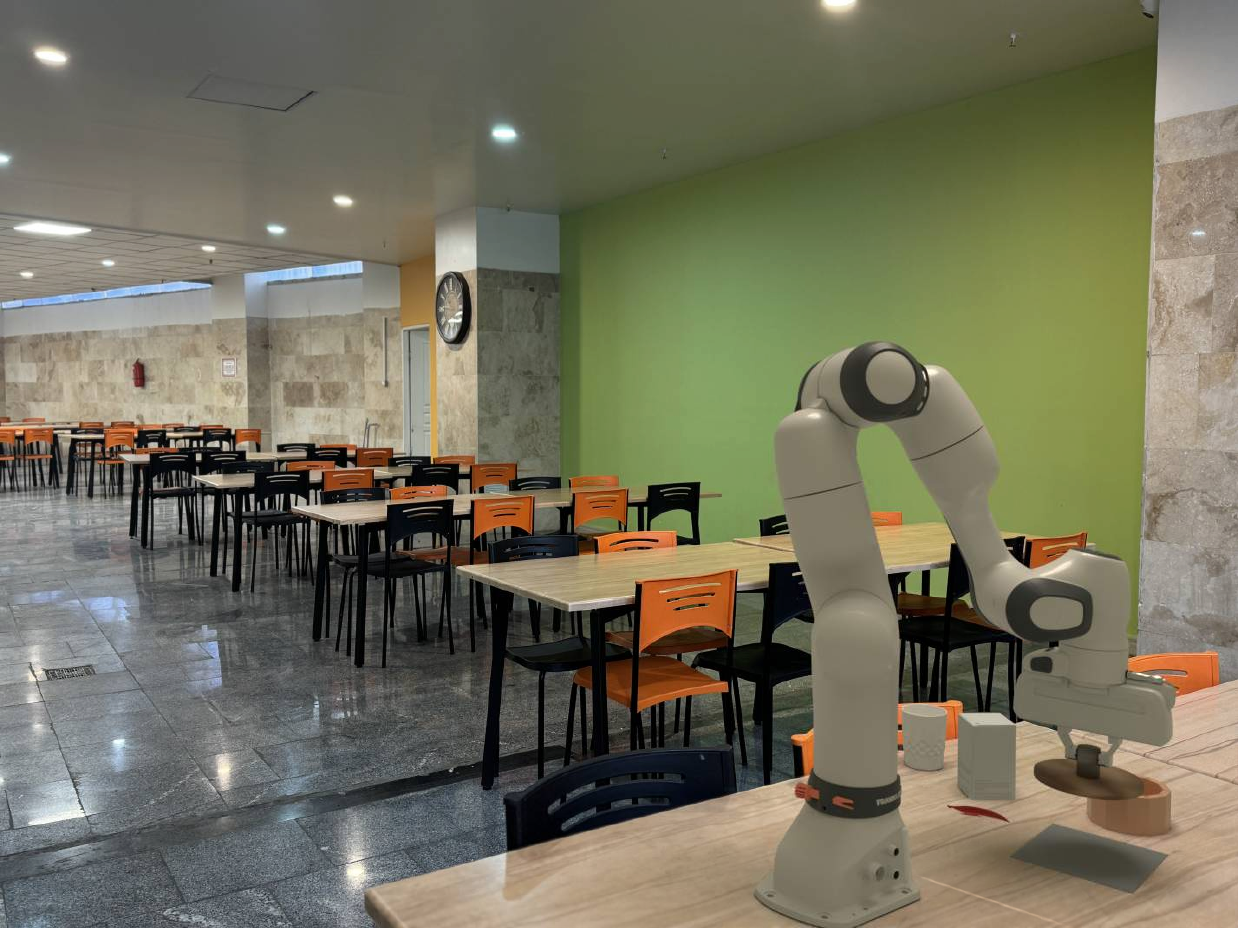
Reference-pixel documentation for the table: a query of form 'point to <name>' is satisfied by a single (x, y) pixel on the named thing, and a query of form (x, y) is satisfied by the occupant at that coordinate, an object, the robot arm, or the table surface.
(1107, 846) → the mat
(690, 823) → the table surface
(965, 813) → the red feather
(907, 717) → the white cup
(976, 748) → the supplement box
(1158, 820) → the bowl
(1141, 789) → the lid
